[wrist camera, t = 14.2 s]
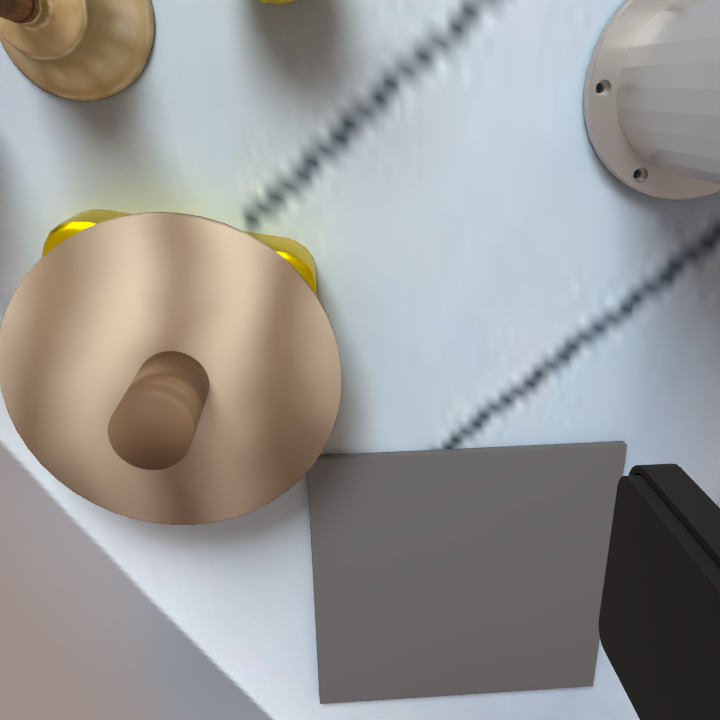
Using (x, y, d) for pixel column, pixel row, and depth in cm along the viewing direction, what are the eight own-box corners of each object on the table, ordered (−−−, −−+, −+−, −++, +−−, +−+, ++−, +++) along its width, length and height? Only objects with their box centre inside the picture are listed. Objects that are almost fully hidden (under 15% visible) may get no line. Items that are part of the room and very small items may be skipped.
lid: (335, 205, 37) (339, 232, 30) (346, 508, 44) (351, 580, 38) (-33, 218, 36) (-107, 248, 29) (40, 525, 43) (-7, 602, 37)
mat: (623, 441, 48) (626, 445, 48) (590, 680, 56) (592, 685, 56) (306, 456, 47) (306, 460, 46) (319, 697, 55) (319, 703, 55)
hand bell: (6, 99, 38) (-192, 107, 23) (-21, -78, 35) (-268, -198, 20) (160, 103, 38) (65, 114, 24) (148, -71, 35) (28, -183, 20)
